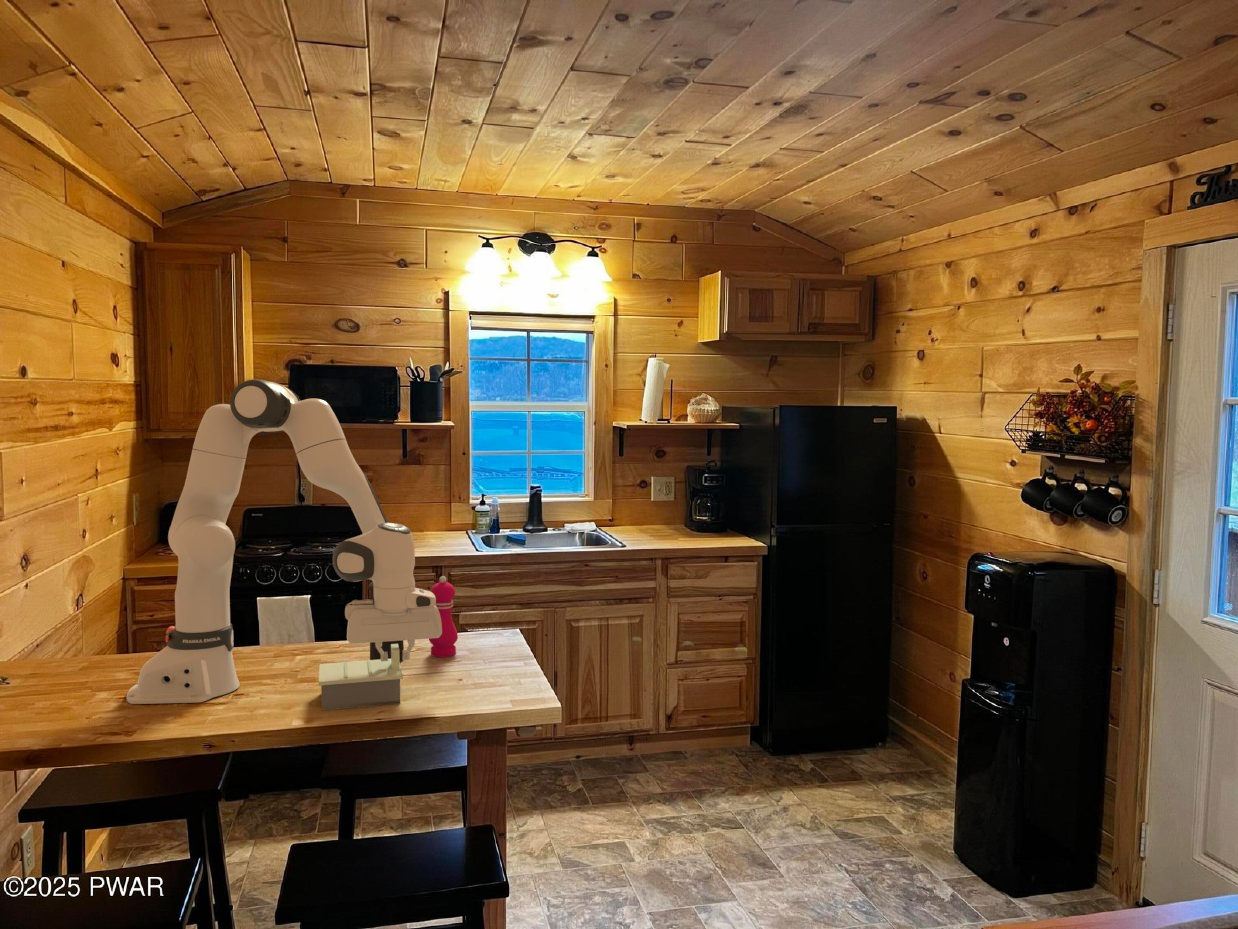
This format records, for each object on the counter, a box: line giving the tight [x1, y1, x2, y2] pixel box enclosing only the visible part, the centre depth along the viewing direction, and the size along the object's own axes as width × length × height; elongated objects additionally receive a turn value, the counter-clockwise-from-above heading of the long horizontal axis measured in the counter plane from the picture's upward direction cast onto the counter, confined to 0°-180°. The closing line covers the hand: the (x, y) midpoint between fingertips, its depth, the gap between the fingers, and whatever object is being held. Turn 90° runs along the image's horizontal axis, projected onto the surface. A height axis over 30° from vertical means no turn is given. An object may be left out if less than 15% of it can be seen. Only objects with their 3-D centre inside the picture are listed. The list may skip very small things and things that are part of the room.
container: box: [367, 581, 405, 663], centre depth 228 cm, size 9×9×20 cm
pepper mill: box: [428, 575, 459, 658], centre depth 234 cm, size 7×7×20 cm
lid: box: [318, 644, 404, 687], centre depth 200 cm, size 17×13×6 cm
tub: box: [320, 679, 401, 711], centre depth 201 cm, size 16×12×6 cm
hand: (395, 660), depth 203 cm, fingers open, 3 cm apart
